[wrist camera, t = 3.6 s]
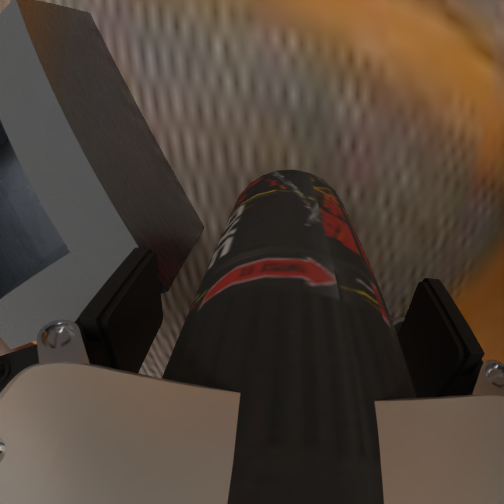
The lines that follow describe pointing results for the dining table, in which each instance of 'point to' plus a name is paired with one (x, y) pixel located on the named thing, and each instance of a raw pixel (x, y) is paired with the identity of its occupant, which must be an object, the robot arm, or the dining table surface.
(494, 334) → the dining table surface
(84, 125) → the socket block
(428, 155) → the dining table surface
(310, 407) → the deodorant
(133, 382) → the robot arm
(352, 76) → the dining table surface
